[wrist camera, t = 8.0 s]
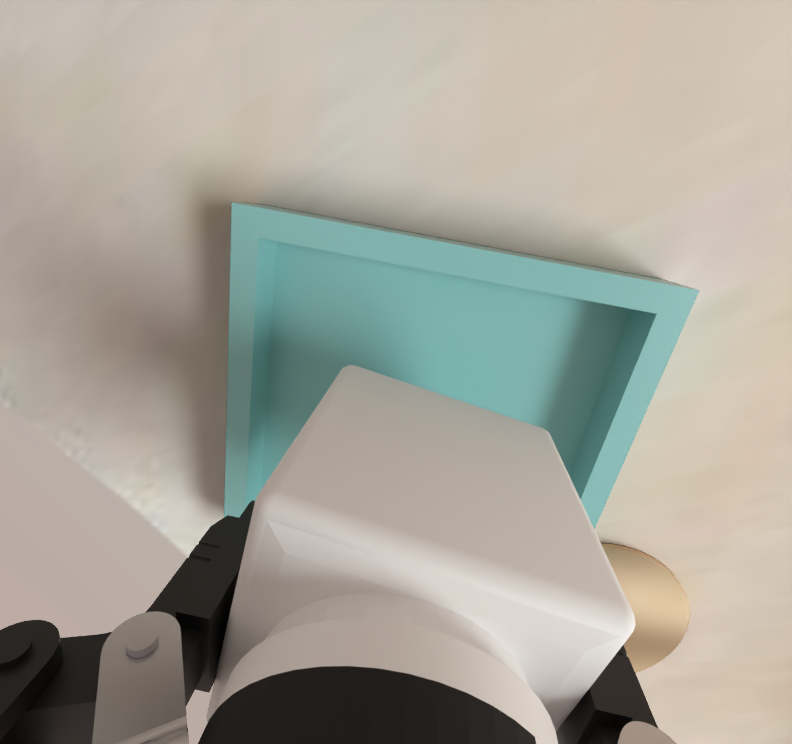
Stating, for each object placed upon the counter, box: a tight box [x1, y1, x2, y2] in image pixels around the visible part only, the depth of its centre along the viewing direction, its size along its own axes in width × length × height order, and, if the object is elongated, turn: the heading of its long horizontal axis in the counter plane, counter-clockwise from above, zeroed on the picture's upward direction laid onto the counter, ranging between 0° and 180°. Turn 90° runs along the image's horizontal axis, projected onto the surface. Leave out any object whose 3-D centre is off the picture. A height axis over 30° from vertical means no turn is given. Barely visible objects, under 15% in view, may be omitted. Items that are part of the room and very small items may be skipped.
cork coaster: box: [601, 543, 690, 673], centre depth 22 cm, size 9×9×1 cm
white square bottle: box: [198, 365, 636, 744], centre depth 9 cm, size 7×7×12 cm
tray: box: [224, 203, 699, 529], centre depth 18 cm, size 16×16×2 cm
